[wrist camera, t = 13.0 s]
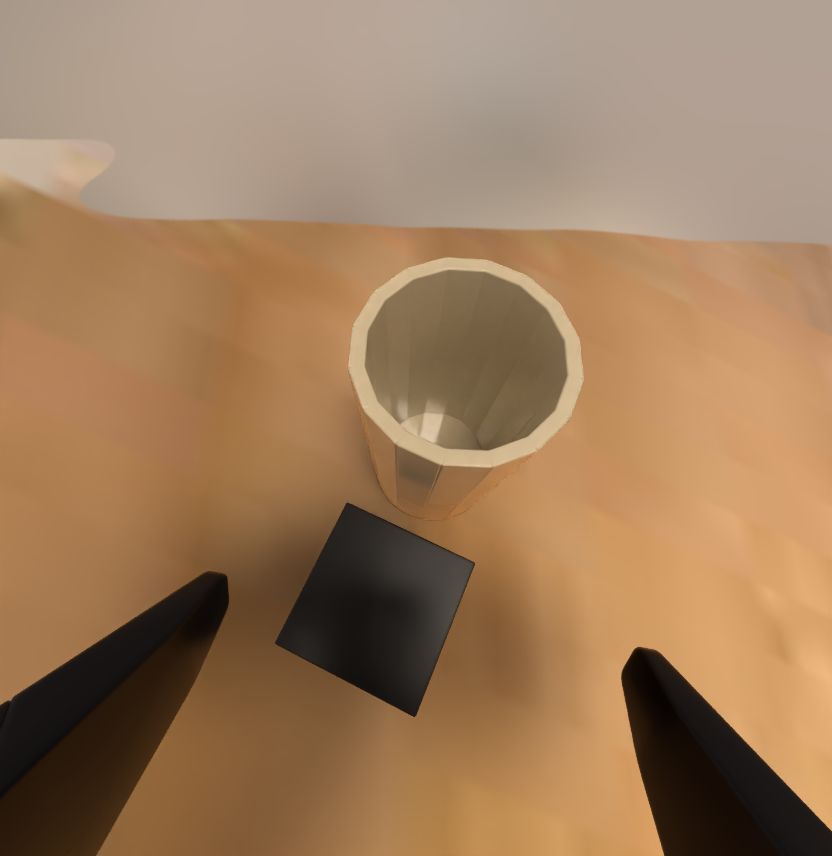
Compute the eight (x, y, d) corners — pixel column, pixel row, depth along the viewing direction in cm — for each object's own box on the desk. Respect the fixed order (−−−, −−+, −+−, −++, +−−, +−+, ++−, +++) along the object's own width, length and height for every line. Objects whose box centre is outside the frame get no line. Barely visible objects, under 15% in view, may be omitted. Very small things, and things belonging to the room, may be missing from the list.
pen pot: (462, 540, 21) (538, 509, 10) (356, 490, 22) (305, 403, 10) (504, 437, 23) (610, 306, 12) (405, 394, 24) (410, 228, 12)
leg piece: (409, 659, 20) (415, 717, 12) (321, 614, 20) (273, 643, 13) (448, 563, 21) (475, 563, 14) (365, 524, 22) (346, 501, 14)
